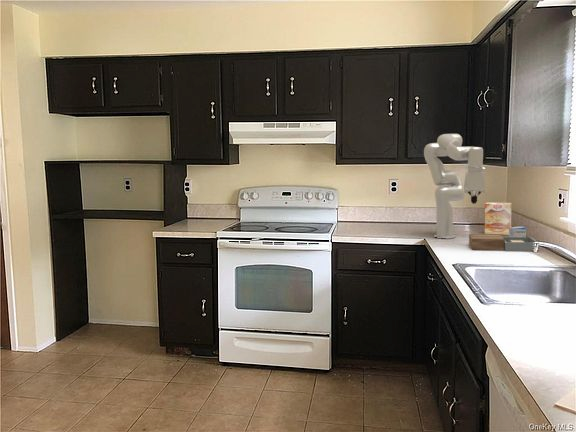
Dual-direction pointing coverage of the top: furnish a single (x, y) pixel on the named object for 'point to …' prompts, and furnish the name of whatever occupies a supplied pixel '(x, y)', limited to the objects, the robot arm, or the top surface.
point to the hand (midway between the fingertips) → (473, 203)
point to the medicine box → (517, 231)
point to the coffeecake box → (497, 218)
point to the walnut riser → (486, 242)
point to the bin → (519, 244)
